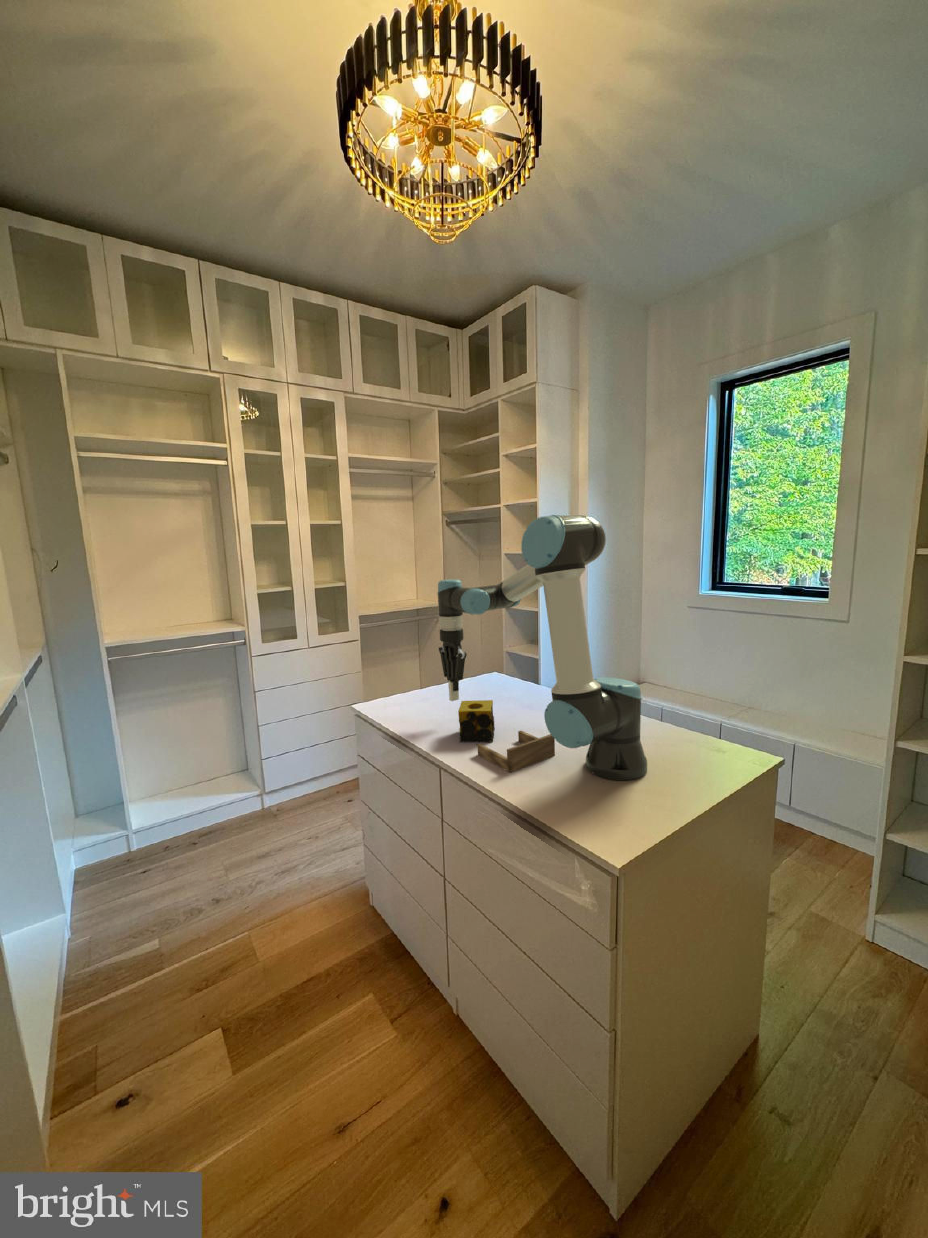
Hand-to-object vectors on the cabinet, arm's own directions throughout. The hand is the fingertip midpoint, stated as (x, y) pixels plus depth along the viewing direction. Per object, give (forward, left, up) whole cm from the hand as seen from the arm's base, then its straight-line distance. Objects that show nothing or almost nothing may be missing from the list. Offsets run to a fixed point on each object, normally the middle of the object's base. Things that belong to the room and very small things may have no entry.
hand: (454, 699), depth 161 cm
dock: (-30, 0, -9) cm, 32 cm away
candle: (-12, 0, -9) cm, 15 cm away
